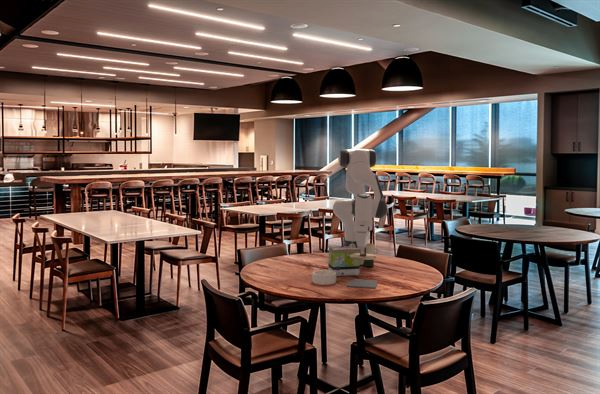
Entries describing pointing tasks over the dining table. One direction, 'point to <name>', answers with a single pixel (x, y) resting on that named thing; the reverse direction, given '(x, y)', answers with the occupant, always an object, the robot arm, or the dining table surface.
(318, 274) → the bowl
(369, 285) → the mat
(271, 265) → the dining table surface
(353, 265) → the tea box
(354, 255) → the lid
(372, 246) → the character mug
